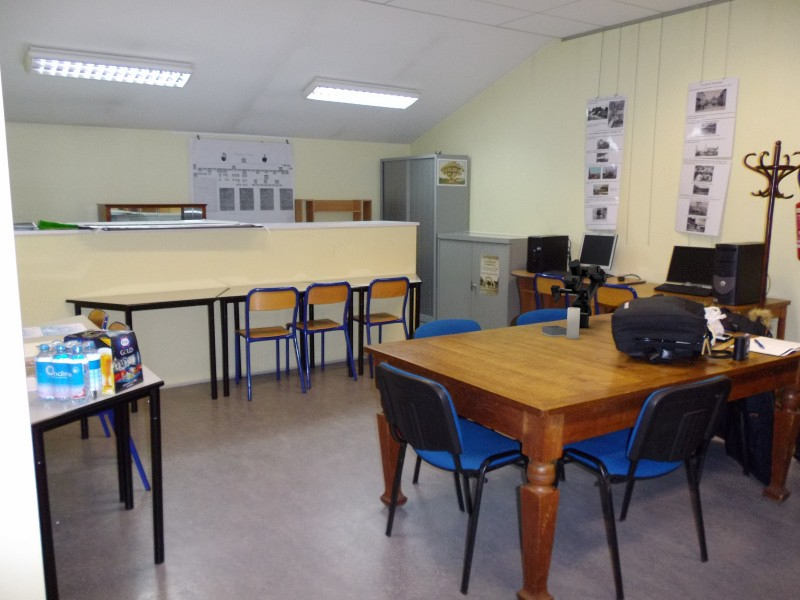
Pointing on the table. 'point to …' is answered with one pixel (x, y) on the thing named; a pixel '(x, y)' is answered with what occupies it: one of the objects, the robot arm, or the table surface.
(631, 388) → the table surface
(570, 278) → the robot arm
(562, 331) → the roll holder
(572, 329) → the paper towel roll
